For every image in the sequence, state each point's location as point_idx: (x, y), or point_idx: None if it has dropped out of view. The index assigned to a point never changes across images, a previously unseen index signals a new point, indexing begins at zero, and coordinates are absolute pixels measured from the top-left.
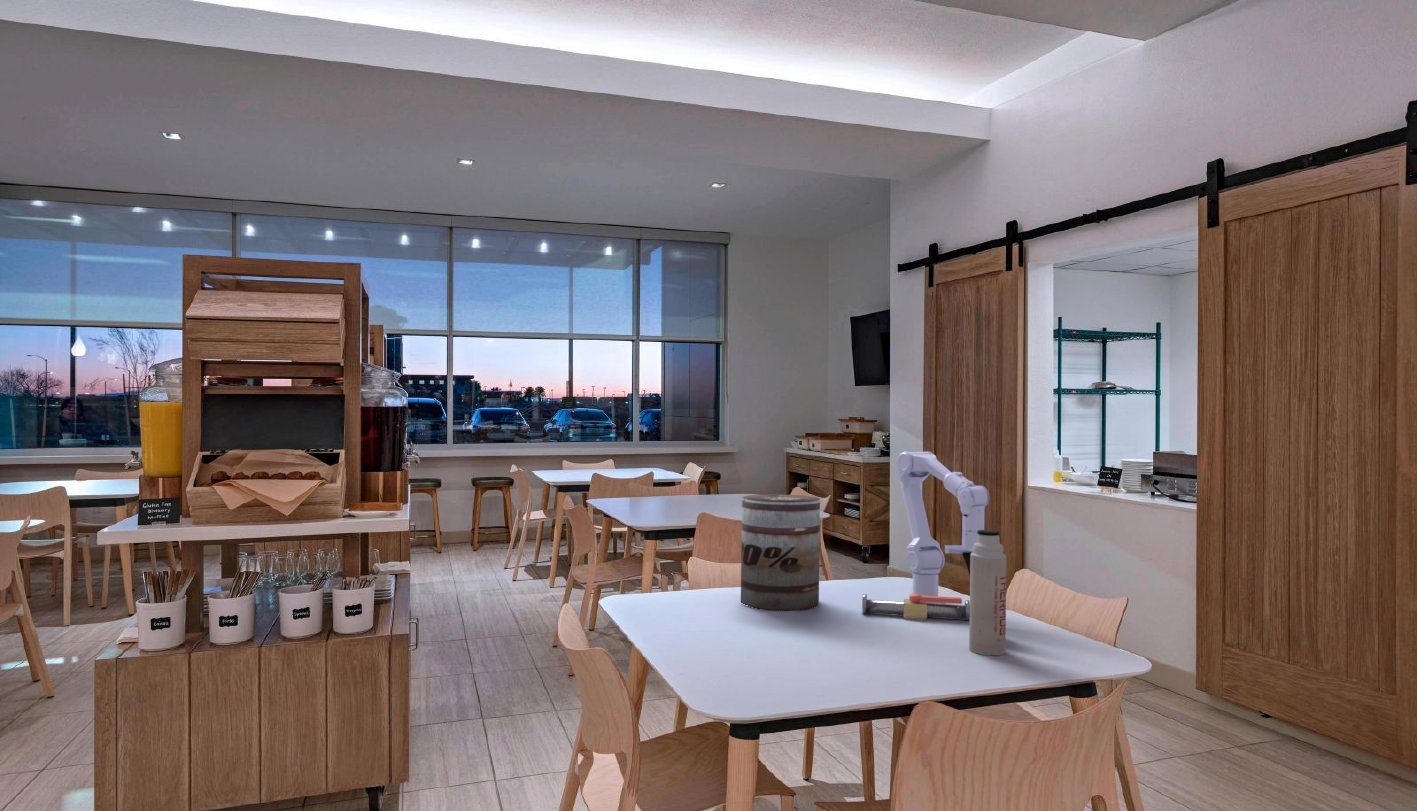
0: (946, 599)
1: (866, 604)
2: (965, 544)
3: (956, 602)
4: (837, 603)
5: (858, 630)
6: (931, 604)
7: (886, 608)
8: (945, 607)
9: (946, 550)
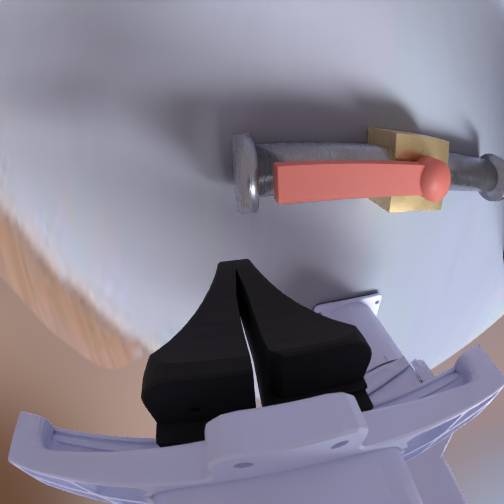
0: (341, 163)
1: (492, 163)
2: (407, 482)
3: (296, 161)
4: (489, 242)
5: (475, 21)
6: None
7: (462, 155)
8: (330, 151)
9: (486, 361)
